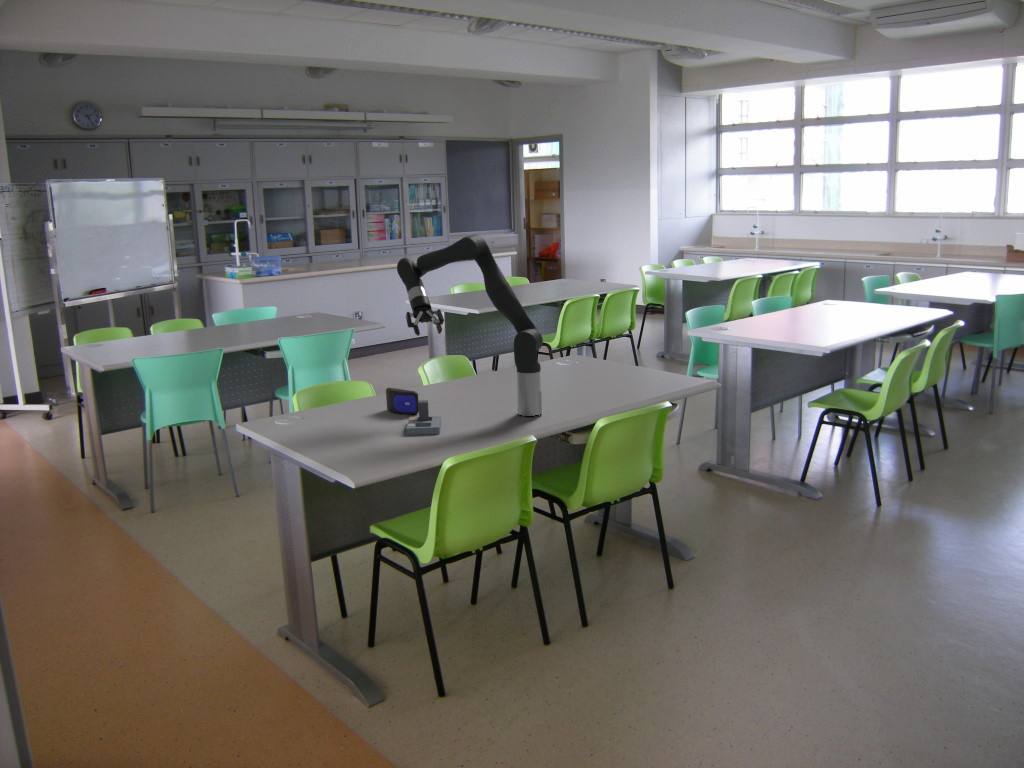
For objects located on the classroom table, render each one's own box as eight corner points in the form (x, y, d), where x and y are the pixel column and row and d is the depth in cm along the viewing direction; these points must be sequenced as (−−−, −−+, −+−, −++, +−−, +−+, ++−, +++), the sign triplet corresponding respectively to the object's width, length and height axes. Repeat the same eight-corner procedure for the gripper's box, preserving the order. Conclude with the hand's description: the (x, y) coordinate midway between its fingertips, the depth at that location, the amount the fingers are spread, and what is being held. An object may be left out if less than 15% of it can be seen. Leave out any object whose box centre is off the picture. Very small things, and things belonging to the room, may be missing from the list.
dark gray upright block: (429, 423, 317) (428, 400, 315) (429, 425, 313) (427, 402, 311) (419, 423, 316) (418, 400, 314) (419, 426, 313) (418, 402, 311)
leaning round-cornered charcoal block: (381, 411, 336) (380, 388, 334) (389, 409, 340) (387, 386, 338) (412, 417, 328) (411, 393, 325) (420, 414, 331) (418, 391, 329)
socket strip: (441, 422, 319) (441, 415, 318) (439, 433, 303) (439, 426, 303) (409, 423, 318) (409, 416, 318) (406, 435, 303) (405, 427, 302)
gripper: (403, 296, 325) (413, 329, 317) (438, 293, 330) (448, 326, 322) (400, 308, 331) (410, 341, 323) (434, 305, 336) (445, 337, 328)
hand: (429, 333), depth 323 cm, fingers open, 8 cm apart
